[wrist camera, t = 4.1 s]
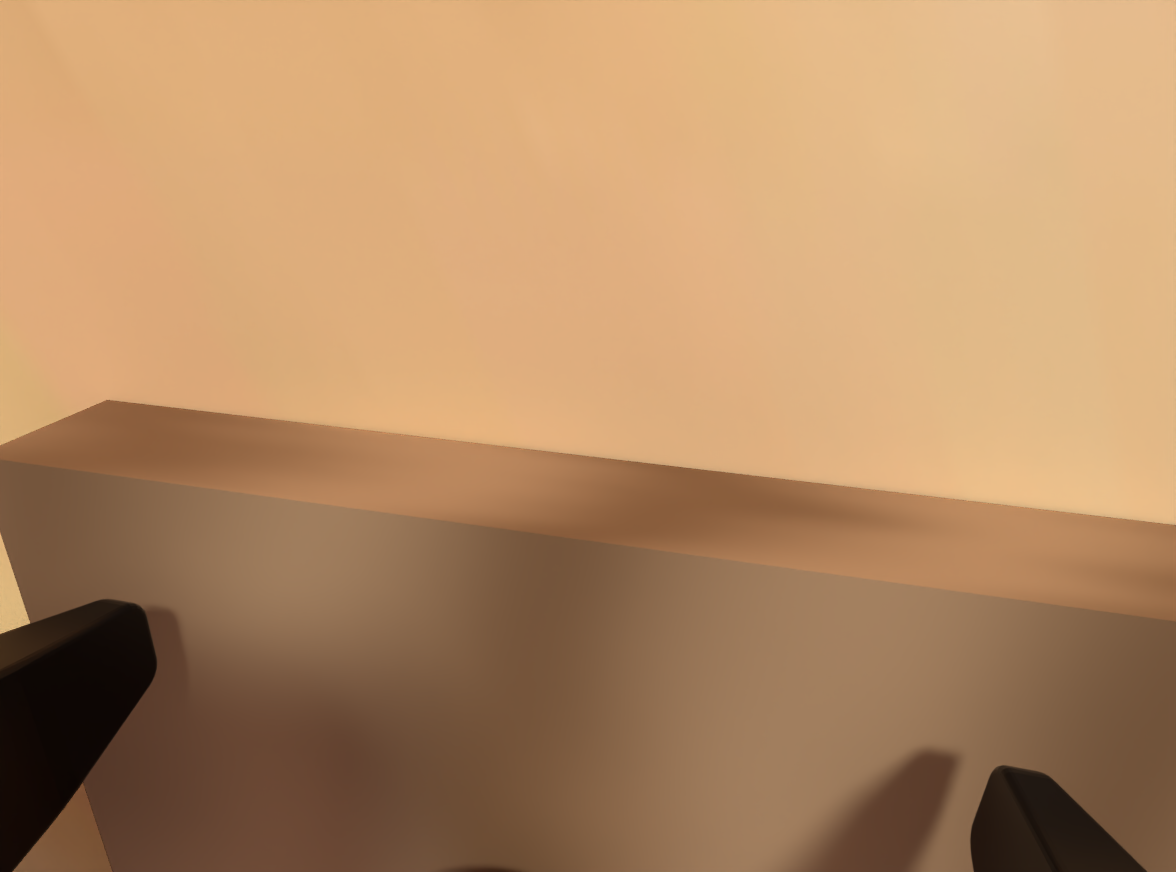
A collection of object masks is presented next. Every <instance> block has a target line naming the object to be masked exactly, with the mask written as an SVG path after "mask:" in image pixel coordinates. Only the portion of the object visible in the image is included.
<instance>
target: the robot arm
mask: <svg viewBox="0 0 1176 872" xmlns="http://www.w3.org/2000/svg"><path fill="white" fill-rule="evenodd" d="M156 670H157V656H156V652H155V648H154V644H153V639H152V635H151V631H150V627H149V623H148V618H147V615H146V612H145V610H144V609H143V608H142V607H141V606H140V605H138V604H136V603H131V602H126V601H120V600H115V599H101V600H97V601H94V602H91V603H88V604H86V605H83V606H80V607H77V608H74V609H71V610H68V611H65V612H62V613H60V614H57V615H54V616H51V617H48V618H45V619H42V620H39V621H36V622H33V623H31V624H28V625H25V626H22V627H19V628H16V629H13V630H10V631H7V632H5V633H2V634H0V872H13V870H14V869H15V868H16V867H17V866H18V864H19V863H20V862H21V861H22V859H23V858H24V857H25V856H26V855H27V853H28V852H29V851H30V850H31V849H32V847H33V846H34V845H35V844H36V842H37V841H38V840H39V839H40V838H41V836H42V835H43V834H44V833H45V832H46V830H47V829H48V828H49V827H50V825H51V824H52V823H53V821H54V820H55V819H56V818H57V816H58V815H59V814H60V813H61V811H62V810H63V809H64V808H65V806H66V805H67V803H68V802H69V801H70V799H71V798H72V796H73V795H74V794H75V792H76V791H77V790H78V788H79V787H80V785H81V784H82V783H83V781H84V780H85V778H86V777H87V775H88V774H89V772H90V771H91V770H92V768H93V767H94V765H95V764H96V762H97V761H98V760H99V758H100V757H101V755H102V754H103V752H104V751H105V749H106V748H107V747H108V745H109V744H110V742H111V741H112V739H113V738H114V737H115V735H116V734H117V732H118V731H119V729H120V728H121V726H122V725H123V724H124V722H125V721H126V719H127V718H128V716H129V715H130V714H131V712H132V711H133V709H134V708H135V706H136V705H137V703H138V702H139V701H140V699H141V698H142V696H143V695H144V693H145V692H146V691H147V689H148V688H149V686H150V685H151V683H152V681H153V679H154V677H155V674H156ZM970 850H971V858H972V865H973V871H974V872H1148V871H1147V870H1146V869H1145V868H1143V867H1142V866H1141V865H1140V864H1139V863H1138V862H1137V861H1136V860H1135V859H1134V858H1133V857H1132V856H1131V855H1130V854H1129V853H1128V852H1127V851H1126V850H1125V849H1124V848H1123V847H1122V846H1121V845H1120V844H1119V843H1118V842H1117V841H1116V840H1115V839H1114V838H1113V837H1112V836H1111V835H1110V834H1109V833H1108V832H1107V831H1106V830H1105V829H1104V828H1103V827H1102V826H1101V825H1100V824H1099V823H1098V822H1097V821H1095V820H1094V819H1093V818H1092V817H1091V816H1090V815H1089V814H1088V813H1087V812H1086V811H1085V810H1084V809H1083V808H1082V807H1081V806H1080V805H1079V804H1078V803H1077V802H1076V801H1075V800H1074V799H1073V798H1072V797H1071V796H1070V795H1069V794H1068V793H1067V792H1066V791H1065V790H1064V789H1063V788H1062V787H1061V786H1060V785H1059V784H1058V783H1057V782H1056V781H1054V780H1053V779H1052V778H1051V777H1050V776H1048V775H1046V774H1045V773H1042V772H1039V771H1034V770H1029V769H1024V768H1018V767H1013V766H1008V765H1001V766H997V767H996V768H995V769H994V770H993V771H992V773H991V775H990V777H989V779H988V782H987V785H986V788H985V790H984V793H983V796H982V799H981V801H980V804H979V807H978V810H977V812H976V815H975V818H974V821H973V824H972V828H971V834H970Z"/></svg>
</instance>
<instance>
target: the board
mask: <svg viewBox="0 0 1176 872" xmlns="http://www.w3.org/2000/svg"><path fill="white" fill-rule="evenodd" d="M0 533H1V536H2V539H3V542H4V545H5V548H6V551H7V554H8V557H9V560H10V563H11V566H12V569H13V572H14V575H15V578H16V581H17V584H18V587H19V590H20V593H21V596H22V599H23V602H24V605H25V608H26V611H27V614H28V617H29V620H30V624H31V623H33V622H36V621H39V620H42V619H45V618H48V617H51V616H54V615H57V614H60V613H62V612H65V611H68V610H71V609H74V608H77V607H80V606H83V605H86V604H88V603H91V602H94V601H97V600H101V599H115V600H120V601H126V602H131V603H136V604H138V605H140V606H141V607H142V608H143V609H144V610H145V612H146V615H147V618H148V623H149V627H150V631H151V635H152V639H153V644H154V648H155V652H156V656H157V670H156V674H155V677H154V679H153V681H152V683H151V685H150V686H149V688H148V689H147V691H146V692H145V693H144V695H143V696H142V698H141V699H140V701H139V702H138V703H137V705H136V706H135V708H134V709H133V711H132V712H131V714H130V715H129V716H128V718H127V719H126V721H125V722H124V724H123V725H122V726H121V728H120V729H119V731H118V732H117V734H116V735H115V737H114V738H113V739H112V741H111V742H110V744H109V745H108V747H107V748H106V749H105V751H104V752H103V754H102V755H101V757H100V758H99V760H98V761H97V762H96V764H95V765H94V767H93V768H92V770H91V771H90V772H89V774H88V775H87V777H86V778H85V780H84V781H83V784H84V787H85V790H86V793H87V796H88V799H89V802H90V805H91V808H92V811H93V814H94V817H95V820H96V823H97V826H98V829H99V832H100V835H101V838H102V841H103V844H104V847H105V850H106V853H107V856H108V859H109V862H110V865H111V868H112V871H113V872H974V871H973V865H972V858H971V850H970V834H971V828H972V824H973V821H974V818H975V815H976V812H977V810H978V807H979V804H980V801H981V799H982V796H983V793H984V790H985V788H986V785H987V782H988V779H989V777H990V775H991V773H992V771H993V770H994V769H995V768H996V767H997V766H1001V765H1008V766H1013V767H1018V768H1024V769H1029V770H1034V771H1039V772H1042V773H1045V774H1046V775H1048V776H1050V777H1051V778H1052V779H1053V780H1054V781H1056V782H1057V783H1058V784H1059V785H1060V786H1061V787H1062V788H1063V789H1064V790H1065V791H1066V792H1067V793H1068V794H1069V795H1070V796H1071V797H1072V798H1073V799H1074V800H1075V801H1076V802H1077V803H1078V804H1079V805H1080V806H1081V807H1082V808H1083V809H1084V810H1085V811H1086V812H1087V813H1088V814H1089V815H1090V816H1091V817H1092V818H1093V819H1094V820H1095V821H1097V822H1098V823H1099V824H1100V825H1101V826H1102V827H1103V828H1104V829H1105V830H1106V831H1107V832H1108V833H1109V834H1110V835H1111V836H1112V837H1113V838H1114V839H1115V840H1116V841H1117V842H1118V843H1119V844H1120V845H1121V846H1122V847H1123V848H1124V849H1125V850H1126V851H1127V852H1128V853H1129V854H1130V855H1131V856H1132V857H1133V858H1134V859H1135V860H1136V861H1137V862H1138V863H1139V864H1140V865H1141V866H1142V867H1143V868H1145V869H1146V870H1147V871H1148V872H1176V525H1169V524H1160V523H1152V522H1143V521H1135V520H1126V519H1118V518H1109V517H1100V516H1092V515H1083V514H1075V513H1066V512H1058V511H1049V510H1041V509H1032V508H1024V507H1015V506H1007V505H998V504H989V503H981V502H972V501H964V500H955V499H947V498H938V497H930V496H921V495H913V494H904V493H896V492H887V491H879V490H870V489H861V488H853V487H844V486H836V485H827V484H819V483H810V482H802V481H793V480H785V479H776V478H768V477H759V476H750V475H742V474H733V473H725V472H716V471H708V470H699V469H691V468H682V467H674V466H665V465H657V464H648V463H640V462H631V461H622V460H614V459H605V458H597V457H588V456H580V455H571V454H563V453H554V452H546V451H537V450H529V449H520V448H511V447H503V446H494V445H486V444H477V443H469V442H460V441H452V440H443V439H435V438H426V437H418V436H409V435H401V434H392V433H383V432H375V431H366V430H358V429H349V428H341V427H332V426H324V425H315V424H307V423H298V422H290V421H281V420H272V419H264V418H255V417H247V416H238V415H230V414H221V413H213V412H204V411H196V410H187V409H179V408H170V407H162V406H153V405H144V404H136V403H127V402H119V401H110V400H106V401H104V402H102V403H99V404H97V405H94V406H92V407H90V408H87V409H85V410H83V411H80V412H78V413H76V414H73V415H71V416H69V417H66V418H64V419H62V420H59V421H57V422H55V423H52V424H50V425H47V426H45V427H43V428H40V429H38V430H36V431H33V432H31V433H29V434H26V435H24V436H22V437H19V438H17V439H15V440H12V441H10V442H8V443H5V444H3V445H1V446H0Z"/></svg>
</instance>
